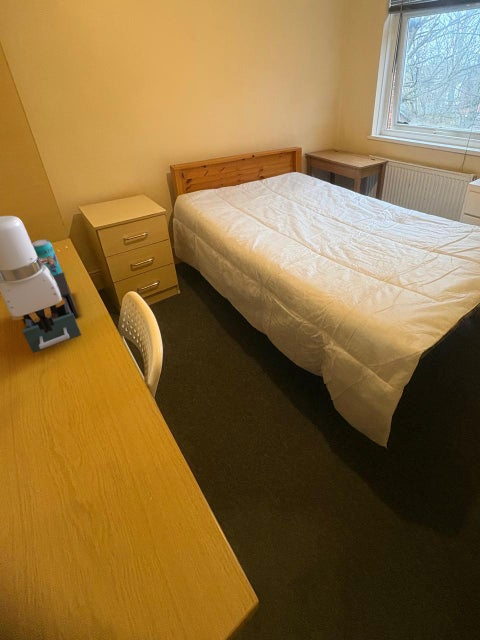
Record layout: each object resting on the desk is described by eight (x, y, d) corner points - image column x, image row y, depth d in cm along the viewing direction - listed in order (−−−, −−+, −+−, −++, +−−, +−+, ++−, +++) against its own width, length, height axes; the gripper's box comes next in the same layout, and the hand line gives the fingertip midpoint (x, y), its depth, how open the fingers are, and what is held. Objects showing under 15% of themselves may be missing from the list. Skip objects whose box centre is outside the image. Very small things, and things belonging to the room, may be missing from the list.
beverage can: (52, 282, 120) (37, 247, 113) (41, 279, 121) (26, 244, 114) (66, 274, 124) (53, 240, 118) (56, 271, 126) (42, 237, 119)
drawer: (84, 344, 92) (75, 324, 88) (34, 364, 85) (23, 343, 81) (74, 311, 104) (66, 292, 100) (30, 326, 98) (20, 306, 94)
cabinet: (78, 317, 103) (69, 293, 99) (29, 334, 96) (17, 309, 92) (72, 295, 113) (63, 272, 109) (27, 309, 106) (16, 285, 101)
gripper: (57, 252, 81) (80, 309, 89) (-22, 273, 72) (11, 334, 81) (61, 264, 75) (84, 324, 84) (-25, 288, 67) (11, 351, 75)
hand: (48, 328), depth 82 cm, fingers closed
